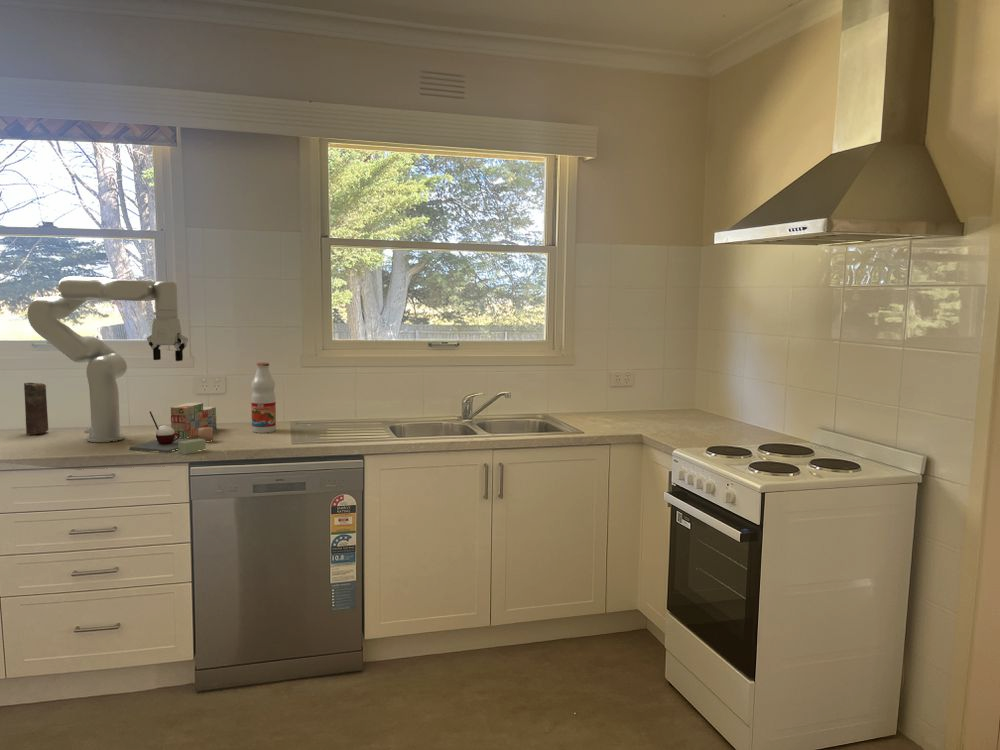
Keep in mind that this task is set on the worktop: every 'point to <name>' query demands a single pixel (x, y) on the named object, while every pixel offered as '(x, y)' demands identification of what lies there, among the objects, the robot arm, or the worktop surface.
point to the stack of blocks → (191, 418)
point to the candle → (35, 408)
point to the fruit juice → (263, 400)
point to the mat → (157, 446)
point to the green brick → (191, 445)
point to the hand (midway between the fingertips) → (168, 360)
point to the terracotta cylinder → (205, 433)
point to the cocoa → (164, 434)
